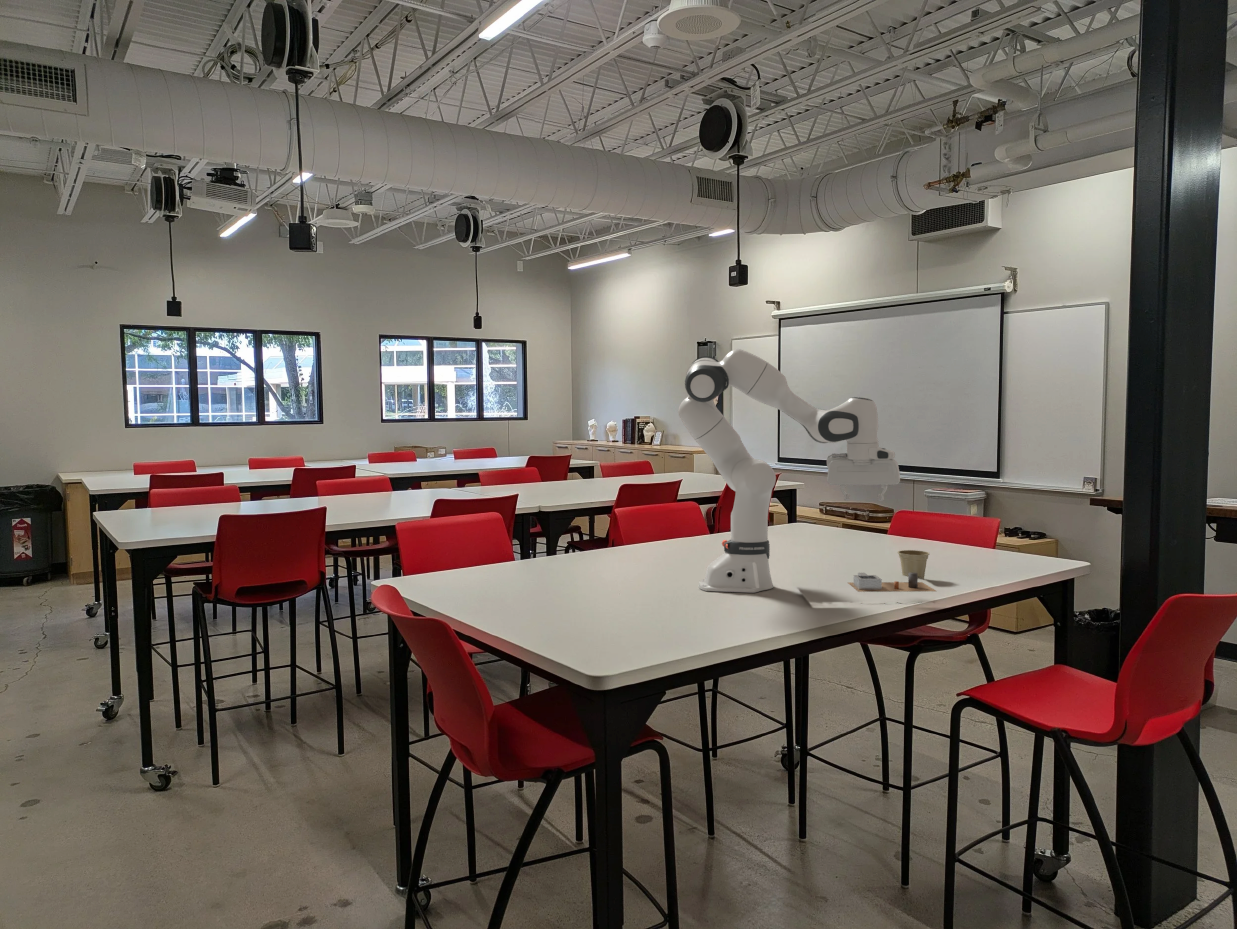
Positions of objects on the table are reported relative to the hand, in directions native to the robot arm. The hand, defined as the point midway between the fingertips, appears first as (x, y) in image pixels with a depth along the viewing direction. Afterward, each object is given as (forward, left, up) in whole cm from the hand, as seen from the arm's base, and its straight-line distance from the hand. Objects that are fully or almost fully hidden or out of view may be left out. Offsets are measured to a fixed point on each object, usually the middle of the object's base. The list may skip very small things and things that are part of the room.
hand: (863, 500), depth 237 cm
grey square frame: (0, 0, -25) cm, 25 cm away
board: (+7, -1, -27) cm, 28 cm away
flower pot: (+19, +17, -27) cm, 37 cm away
